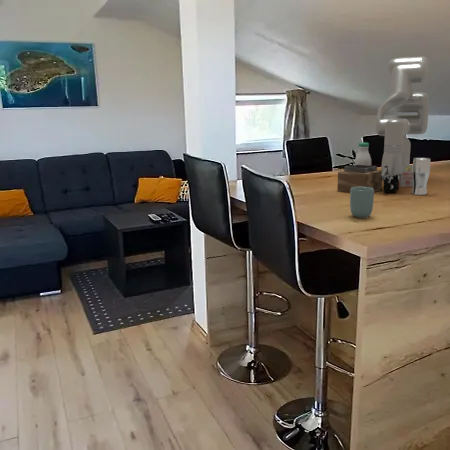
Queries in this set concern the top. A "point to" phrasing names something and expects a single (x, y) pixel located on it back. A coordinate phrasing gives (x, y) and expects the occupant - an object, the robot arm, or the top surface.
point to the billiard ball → (393, 185)
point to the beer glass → (420, 175)
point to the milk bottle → (363, 155)
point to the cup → (361, 201)
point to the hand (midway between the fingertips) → (390, 190)
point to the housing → (359, 178)
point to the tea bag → (406, 176)
